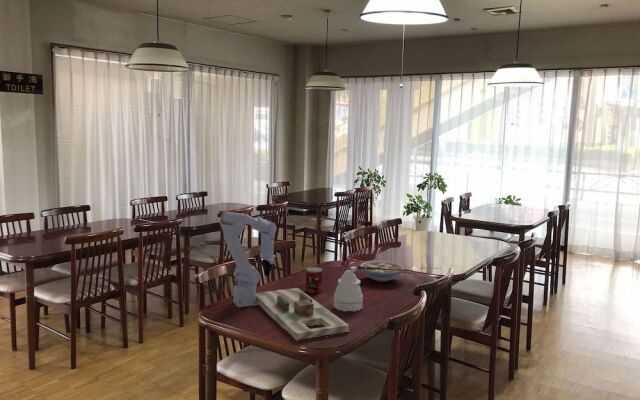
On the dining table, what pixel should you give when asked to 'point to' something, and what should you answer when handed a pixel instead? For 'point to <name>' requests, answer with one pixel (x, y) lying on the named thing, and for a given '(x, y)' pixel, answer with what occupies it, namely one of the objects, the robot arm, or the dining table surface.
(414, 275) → the dining table surface
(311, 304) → the walnut block
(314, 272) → the canned food
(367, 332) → the dining table surface
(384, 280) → the ramen bowl
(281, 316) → the board
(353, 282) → the white santa figurine
